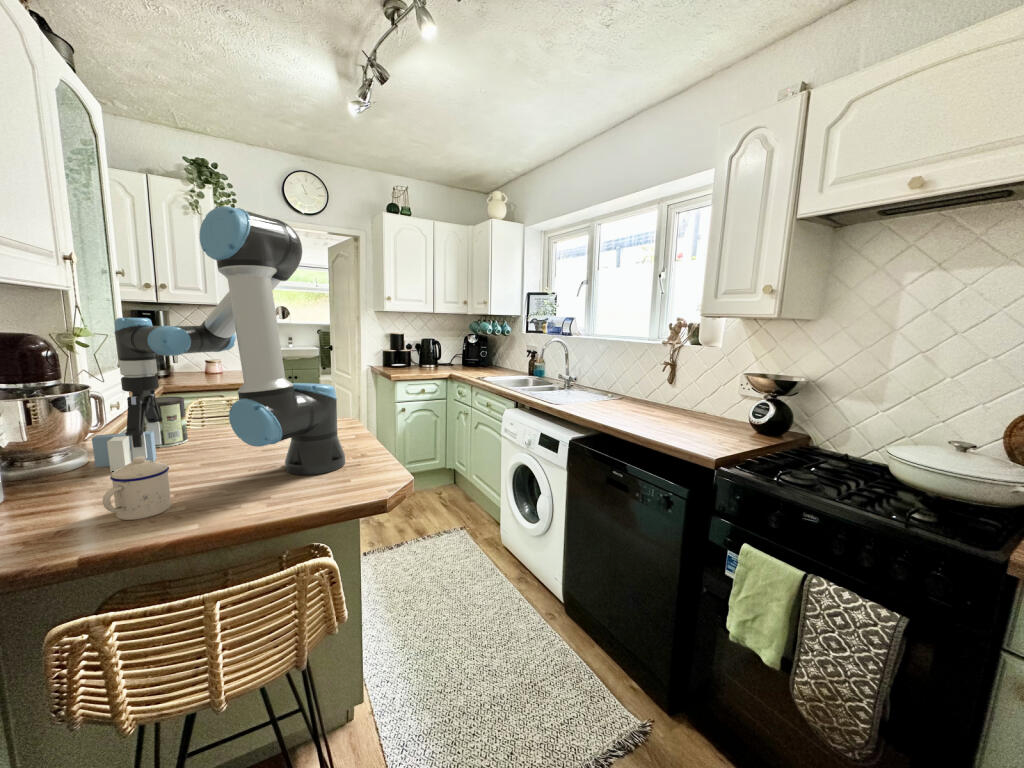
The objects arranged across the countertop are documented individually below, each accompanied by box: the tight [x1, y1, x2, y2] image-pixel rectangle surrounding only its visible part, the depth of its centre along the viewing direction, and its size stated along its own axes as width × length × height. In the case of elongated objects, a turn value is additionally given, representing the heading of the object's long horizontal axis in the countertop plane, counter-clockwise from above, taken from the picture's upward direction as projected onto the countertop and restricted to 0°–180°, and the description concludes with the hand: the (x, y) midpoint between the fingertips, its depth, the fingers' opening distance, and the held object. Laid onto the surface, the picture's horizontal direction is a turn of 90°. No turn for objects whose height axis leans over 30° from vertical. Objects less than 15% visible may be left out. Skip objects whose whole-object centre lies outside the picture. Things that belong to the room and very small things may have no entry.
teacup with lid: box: [102, 456, 172, 521], centre depth 86 cm, size 12×9×12 cm
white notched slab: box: [107, 428, 133, 473], centre depth 115 cm, size 14×3×8 cm, turn 27°
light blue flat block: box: [91, 430, 157, 468], centre depth 115 cm, size 3×12×8 cm, turn 117°
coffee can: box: [144, 396, 189, 449], centre depth 132 cm, size 10×10×14 cm
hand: (148, 451), depth 117 cm, fingers open, 13 cm apart
